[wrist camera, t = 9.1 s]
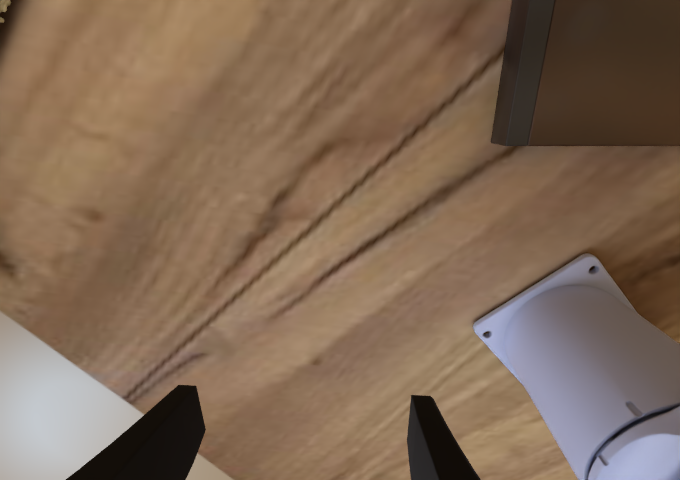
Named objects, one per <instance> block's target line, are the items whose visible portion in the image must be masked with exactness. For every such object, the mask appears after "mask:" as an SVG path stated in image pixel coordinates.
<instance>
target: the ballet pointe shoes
mask: <svg viewBox="0 0 680 480" xmlns="http://www.w3.org/2000/svg"><path fill="white" fill-rule="evenodd" d="M10 4H11V2H10V0H0V12H6V11H7V9H6V7H7V5H9V6H10ZM0 22H2V23H3V22H4V19H3V18H1V17H0Z"/></svg>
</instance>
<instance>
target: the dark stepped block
mask: <svg viewBox="0 0 680 480" xmlns="http://www.w3.org/2000/svg"><path fill="white" fill-rule="evenodd" d="M491 143H494V144H499V145H504V146H680V0H512V5H511V12H510V19H509V25H508V32H507V39H506V45H505V52H504V58H503V65H502V72H501V78H500V85H499V91H498V98H497V105H496V111H495V118H494V124H493V131H492V138H491Z"/></svg>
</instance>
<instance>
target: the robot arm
mask: <svg viewBox="0 0 680 480" xmlns="http://www.w3.org/2000/svg"><path fill="white" fill-rule="evenodd" d="M592 266H594V269H593V270H591V271H589V269H590V268H591V267H592ZM473 329H474V331H475V333H476V334H477V335H478V336H479V337H480V338H481V340H482V341H483V342H484V343H485V344H486V345H487V346H488V347H489V348H490V349H491V351H492V352H493V353H494V354H495V355H496V356H497V357H498V358H499V359H500V360H501V362H502V363H503V364H504V365H505V366H506V367H507V368H508V369H509V370H510V371H511V372H512V374H513V375H514V376H515V377H516V378H517V379H518V380H519V381H520V382H521V383H522V385H523V386H524V387H525V389H526V390H527V392H528V394H529V395H530V397H531V399H532V401H533V402H534V404H535V406H536V407H537V409H538V411H539V413H540V414H541V416H542V418H543V420H544V421H545V423H546V425H547V426H548V428H549V430H550V432H551V433H552V435H553V437H554V438H555V440H556V442H557V444H558V445H559V447H560V449H561V450H562V452H563V454H564V456H565V457H566V459H567V461H568V463H569V464H570V466H571V468H572V469H573V471H574V473H575V475H576V476H577V478H578V480H680V344H679V343H678V342H676V341H675V340H673V339H672V338H671V337H669V336H668V335H667V334H665V333H664V332H662V331H661V330H660V329H658V328H657V327H656V326H654V325H653V324H651V323H650V322H649V321H647V320H646V319H645V318H643V317H642V316H640V315H639V314H638V313H637V312H636V310H635V309H634V308H633V306H632V305H631V303H630V302H629V301H628V299H627V298H626V297H625V295H624V294H623V293H622V291H621V290H620V288H619V287H618V286H617V284H616V283H615V282H614V280H613V279H612V278H611V276H610V275H609V273H608V272H607V271H606V269H605V268H604V267H603V265H602V264H601V263H600V261H599V260H598V258H596V257H595V256H594V255H592V254H589V253H588V254H583V255H581V256H579V257H578V258H576V259H575V260H573V261H571V262H570V263H568V264H567V265H565V266H563V267H562V268H560V269H559V270H557V271H555V272H554V273H552V274H551V275H549V276H547V277H546V278H544V279H543V280H541V281H540V282H538V283H536V284H535V285H533V286H532V287H530V288H528V289H527V290H525V291H524V292H522V293H520V294H519V295H517V296H516V297H514V298H513V299H511V300H509V301H508V302H506V303H505V304H503V305H501V306H500V307H498V308H497V309H495V310H493V311H492V312H490V313H489V314H487V315H485V316H484V317H482V318H481V319H479V320H478V321H476V322H475V323H474V325H473ZM486 331H489V333H488V334H483V333H484V332H486ZM205 430H206V429H205V425H204V420H203V415H202V411H201V406H200V402H199V397H198V392H197V388H196V386H189V385H178V386H177V387H176V388H175V389H174V390H172V391H171V392H170V393H169V394H168V395H167V396H165V397H164V398H163V399H162V400H161V401H160V402H159V403H158V404H156V405H155V406H154V407H153V408H152V409H151V410H150V411H148V412H147V413H146V414H145V415H144V416H143V417H142V418H141V419H139V420H138V421H137V422H136V423H135V424H134V425H132V426H131V427H130V428H129V429H128V430H127V431H125V432H124V433H123V434H122V435H121V436H120V437H118V438H117V439H116V440H115V441H114V442H112V443H111V444H110V445H109V446H108V447H106V448H105V449H104V450H103V451H101V452H100V453H99V454H98V455H96V456H95V457H94V458H93V459H91V460H90V461H89V462H88V463H86V464H85V465H84V466H83V467H82V468H80V469H79V470H78V471H76V472H75V473H74V474H73V475H71V476H70V477H69V478H67V479H66V480H185V479H186V477H187V475H188V473H189V471H190V469H191V467H192V464H193V463H194V460H195V457H196V455H197V452H198V450H199V447H200V444H201V441H202V439H203V436H204V433H205ZM407 444H408V454H409V464H410V474H411V480H480V478H479V477H478V475H477V474H476V472H475V471H474V469H473V467H472V466H471V464H470V463H469V461H468V459H467V458H466V456H465V455H464V453H463V451H462V450H461V448H460V447H459V445H458V443H457V442H456V440H455V438H454V437H453V435H452V433H451V431H450V430H449V428H448V426H447V424H446V422H445V421H444V419H443V417H442V415H441V413H440V411H439V409H438V407H437V405H436V403H435V401H434V399H433V398H432V397H431V396H419V395H411V405H410V415H409V426H408V437H407Z"/></svg>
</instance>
